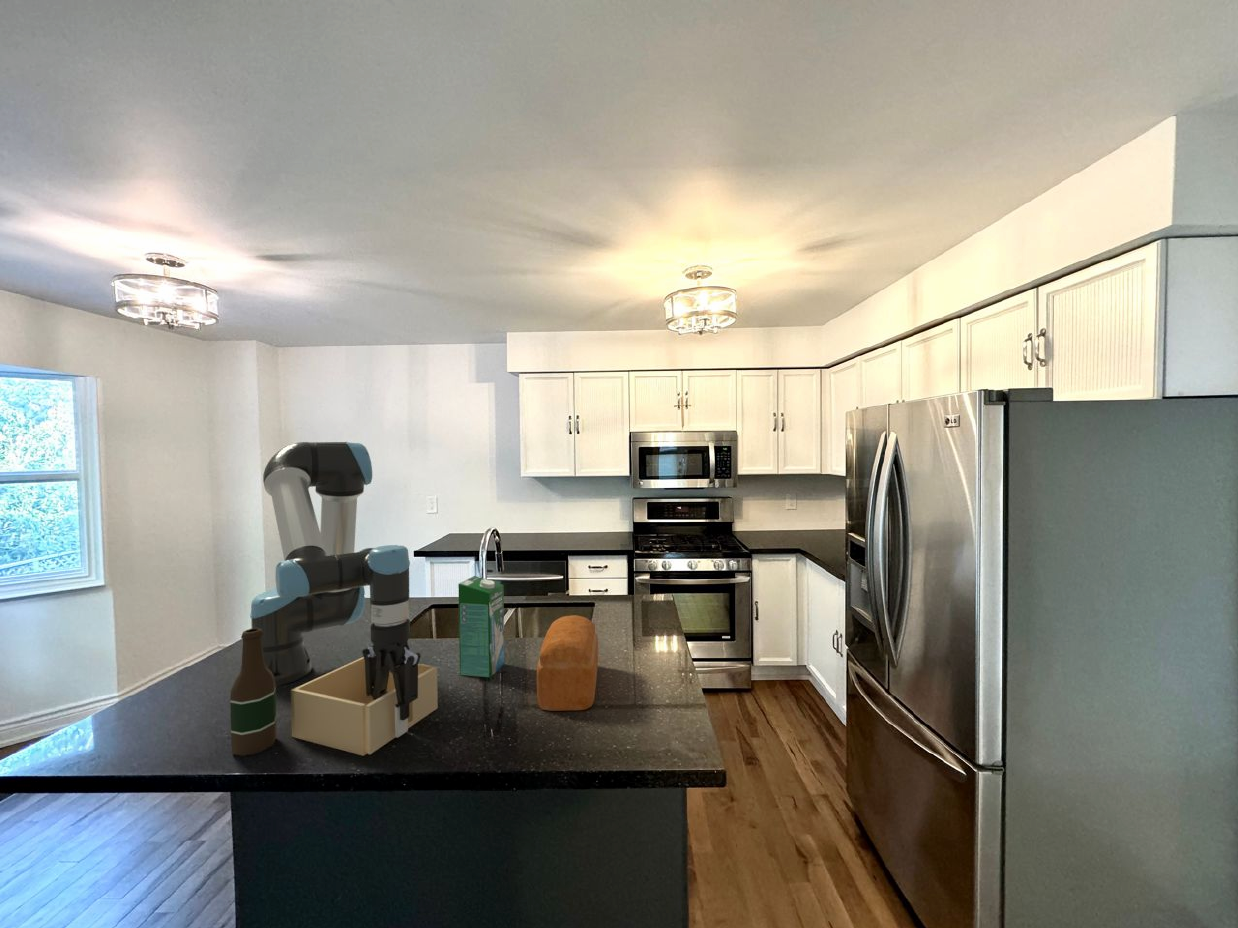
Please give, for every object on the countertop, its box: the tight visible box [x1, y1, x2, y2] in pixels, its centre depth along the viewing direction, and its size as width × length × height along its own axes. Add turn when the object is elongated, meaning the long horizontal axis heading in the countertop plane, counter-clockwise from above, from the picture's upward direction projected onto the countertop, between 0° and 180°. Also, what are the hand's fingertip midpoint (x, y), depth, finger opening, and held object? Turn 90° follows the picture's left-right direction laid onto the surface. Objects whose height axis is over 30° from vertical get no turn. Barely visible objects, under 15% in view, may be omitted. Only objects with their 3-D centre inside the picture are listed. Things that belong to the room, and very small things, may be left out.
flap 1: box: [366, 689, 405, 755], centre depth 104 cm, size 1×9×10 cm, turn 160°
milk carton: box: [457, 575, 505, 678], centre depth 140 cm, size 9×9×25 cm
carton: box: [290, 656, 434, 756], centre depth 113 cm, size 20×20×10 cm
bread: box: [536, 614, 599, 712], centre depth 130 cm, size 14×26×16 cm, turn 0°
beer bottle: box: [229, 628, 278, 757], centre depth 104 cm, size 8×8×24 cm
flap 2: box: [408, 666, 439, 729], centre depth 114 cm, size 1×9×10 cm, turn 159°
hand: (392, 731), depth 106 cm, fingers open, 4 cm apart
